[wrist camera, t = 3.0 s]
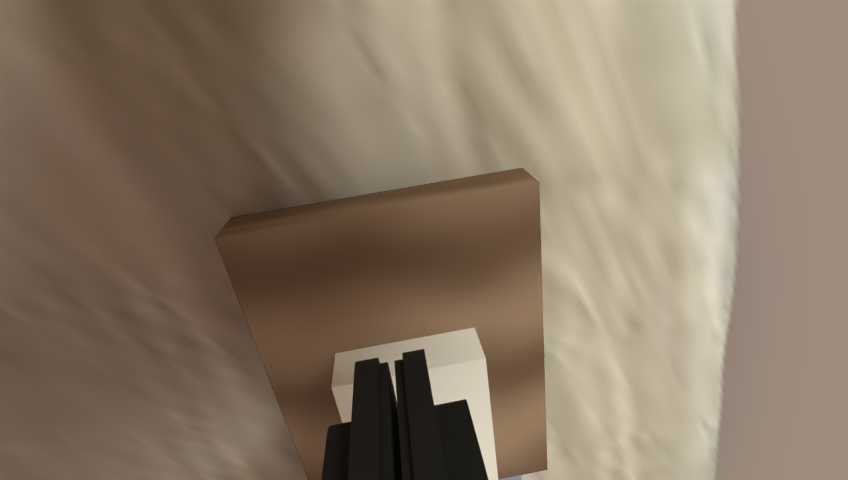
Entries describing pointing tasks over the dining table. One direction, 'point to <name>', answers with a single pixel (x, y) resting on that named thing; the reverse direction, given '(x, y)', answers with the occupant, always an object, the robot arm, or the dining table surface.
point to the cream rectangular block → (433, 379)
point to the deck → (398, 296)
